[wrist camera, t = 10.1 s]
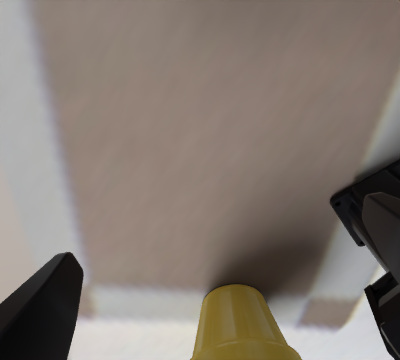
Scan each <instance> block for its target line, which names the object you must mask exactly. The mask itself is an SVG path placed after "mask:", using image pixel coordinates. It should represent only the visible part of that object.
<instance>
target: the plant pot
mask: <svg viewBox="0 0 400 360" xmlns="http://www.w3.org/2000/svg"><path fill="white" fill-rule="evenodd" d="M190 360H302V359H301V357H300V355H299V354H298V353H297V352H296V351H295V350H294V349H293V348H292V347H290V346H288V344H287V342H286V340H285V338H284V337H283V335H282V333H281V331H280V329H279V327H278V325H277V323H276V321H275V319H274V317H273V315H272V313H271V311H270V309H269V307H268V306H267V303H266V301H265V300H264V298H263V296H262V294H261V293H260V292H259V291H258V290H256V289H255V288H253V287H250V286H247V285H241V284H232V285H226V286H222V287H219V288H217V289H215V290H213V291H211V292H210V293H209V294H208V295H207V296H206V297H205V299H204V301H203V303H202V307H201V313H200V319H199V325H198V330H197V335H196V341H195V346H194V351H193V356H192V358H191V359H190Z"/></svg>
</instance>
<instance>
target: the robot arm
mask: <svg viewBox="0 0 400 360" xmlns="http://www.w3.org/2000/svg"><path fill="white" fill-rule="evenodd" d="M338 201H339V202H338ZM336 202H338V203H336ZM335 203H336V204H335ZM330 205H331V206H332V208H333V209H334V211H335V212H336V214H337V215H338V217H339V218H340V220H341V221H342V223H343V224H344V226H345V227H346V229H347V230H348V232H349V233H350V235H351V236H352V238H353V240H354V241H355V242H356V244H357V245H358V246H365V245H366V246H367V248H368V249H369V250H370V252H371V253H372V254H373V255H374V257H375V258H376V259H377V261H378V262H379V263H380V265H381V266H382V267H383V269H384V270H385V271H386V272H387V273H386V274H385V275H383V276H382V277H381V278H380V279H378V280H377V281H376V282H375V283H373V284H372V285H369V286H367V287H366V288H365V289H364V291H365V294H366V296H367V299H368V302H369V304H370V307H371V310H372V312H373V315H374V318H375V321H376V323H377V326H378V329H379V331H380V334H381V337H382V339H383V341H384V344H385V346H386V349H387V351H388V353H389V354H390V355H391V356H392V357H393V358H394V359H395V360H400V160H398V161H396V162H395V163H393V164H391V165H389V166H388V167H386V168H384V169H382V170H380V171H379V172H377V173H375V174H373V175H372V176H370V177H368V178H366V179H365V180H363V181H361V182H359V183H358V184H356V185H354V186H352V187H350V188H349V189H347V190H345V191H343V192H342V193H340V194H338V195H336V196H335V197H333V198H332V199H331V200H330ZM83 276H84V275H83V269H82V267H81V266H80V264H79V263H78V261H77V260H76V258H75V257H74V255H73V254H72V253H71V252H65V253H60V254H57V255H55V256H54V257H53V258H52V259H51V260H50V261H49V262H47V263H46V264H45V265H44V266H43V267H42V268H41V269H39V270H38V271H37V272H36V273H35V274H34V275H33V276H32V277H30V278H29V279H28V280H27V281H26V282H25V283H23V284H22V285H21V286H20V287H19V288H18V289H17V290H16V291H14V292H13V293H12V294H11V295H10V296H9V297H8V298H6V299H5V300H4V301H3V302H2V303H1V304H0V360H67V357H68V353H69V350H70V346H71V342H72V338H73V334H74V330H75V326H76V321H77V316H78V309H79V303H80V296H81V290H82V283H83Z"/></svg>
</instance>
